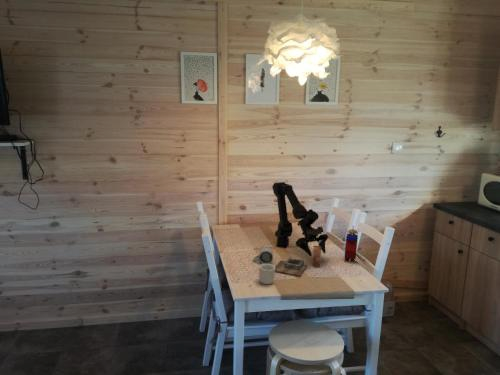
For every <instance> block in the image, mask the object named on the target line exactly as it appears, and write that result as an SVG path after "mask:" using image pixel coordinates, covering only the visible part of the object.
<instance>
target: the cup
mask: <svg viewBox="0 0 500 375" xmlns="http://www.w3.org/2000/svg"><path fill="white" fill-rule="evenodd" d="M275 266H276V265H273V264H272V263H269V264H262V263H261V264H259V266H258V275H259V281H260V283H261V284H263V285H271V284H273V282H274V278H275V273H276V272H275Z"/></svg>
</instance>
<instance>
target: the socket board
mask: <svg viewBox="0 0 500 375" xmlns="http://www.w3.org/2000/svg"><path fill="white" fill-rule="evenodd" d="M274 266H275V273H277V274H283V275H287V276H292V277H298V278H301V277H302V275H303V274H304V273H305V271H306V269H308V265H307V264H305V260H303V259H297V258H292V257H288V259H286V261H285V260H280V261H279V262H278V263H276V265H274Z"/></svg>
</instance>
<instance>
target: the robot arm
mask: <svg viewBox="0 0 500 375" xmlns="http://www.w3.org/2000/svg"><path fill="white" fill-rule="evenodd" d="M272 191H273V194H274V195H275V197H276V199H277V200H276V202H277V208H278V216H279V222H278V224H277V229H276V230H275V232H274V236H275V237H277V238H276V246H275V247H277V248H283V249H286V248H288V247H289V246H290V238H289V237H291V236H292V234H293V229H294V228H293V223H292V222H290V220H289V216H288V210H287V202H286V198H287V200H288V202H289V203H290V205H291V208H292V211H291V212H292V215H293V218H294V219H295V220H298V222H297V226H298V227H299V228H301V232H302V233H301V235H302V236H304V237H299V238H298V239H297V240H296V241H295V246H296V247H297V248H299V249H301V250H302V251H304V253H306V254H307V255H308V256H310V257H313V253H312V251H311V249H310V246H309V243H314V242H317V246H321V252H322V254H326V253H327V251H326V242H327V241H328V239H329V238H330V237H329V236H328V234H327V233H324V228H323V226H317V228H314V227H313V226H312V225H313V224H314V223H315V222H316V221H317V220H318V219H319V213H317V212H316V211H314V210H313V209H312V208H311V209H306V207H305V206H304V205H303V204H301V202H300V201H299V199H298V196H297V195H296V192H295V191H294V189H293V185H291V184H288V183H286V182H285V181H279V182H274V183H273V184H272Z"/></svg>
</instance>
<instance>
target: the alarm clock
mask: <svg viewBox="0 0 500 375" xmlns="http://www.w3.org/2000/svg"><path fill="white" fill-rule="evenodd" d="M354 227H355V226H354V225H352V228H351V229H348V230H347V233H346V236H345V237H342V241H343V242H345V243H341V245H345V246H344V247H342V249H343V250H344V259H348V262H349V263H351V260H356V258H357V249H358V238H359V236H358V234H359V231H357V230H356V229H354Z"/></svg>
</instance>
